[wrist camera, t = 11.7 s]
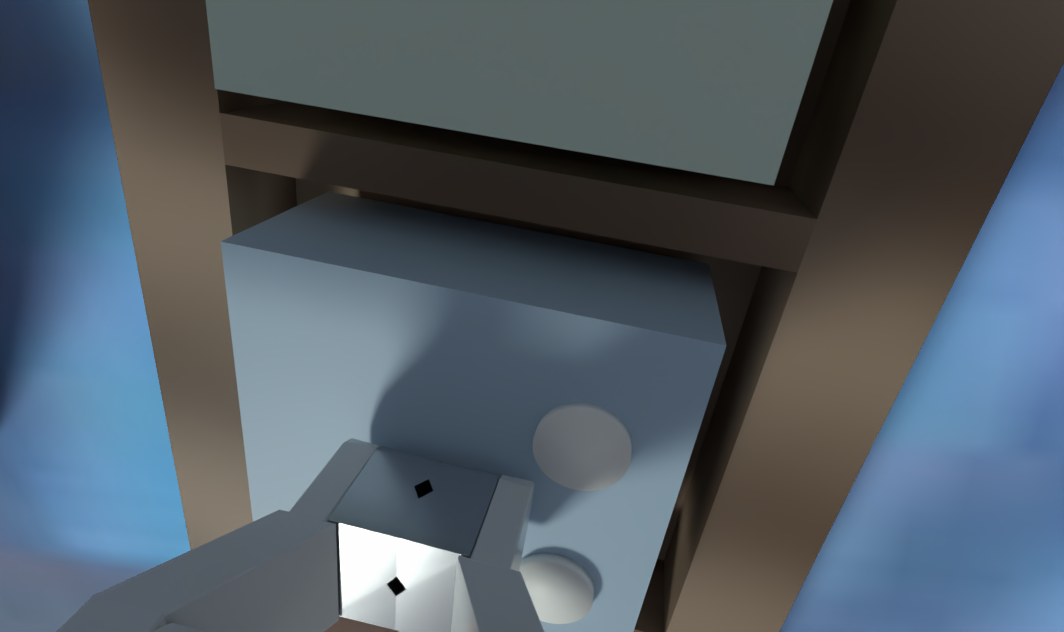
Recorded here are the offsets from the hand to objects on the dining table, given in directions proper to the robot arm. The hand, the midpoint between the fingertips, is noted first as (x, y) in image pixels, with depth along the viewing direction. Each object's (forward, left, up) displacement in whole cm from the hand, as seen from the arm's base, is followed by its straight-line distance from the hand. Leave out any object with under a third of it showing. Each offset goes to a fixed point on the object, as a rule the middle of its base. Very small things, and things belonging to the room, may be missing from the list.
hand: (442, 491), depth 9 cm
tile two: (0, 0, -3) cm, 3 cm away
